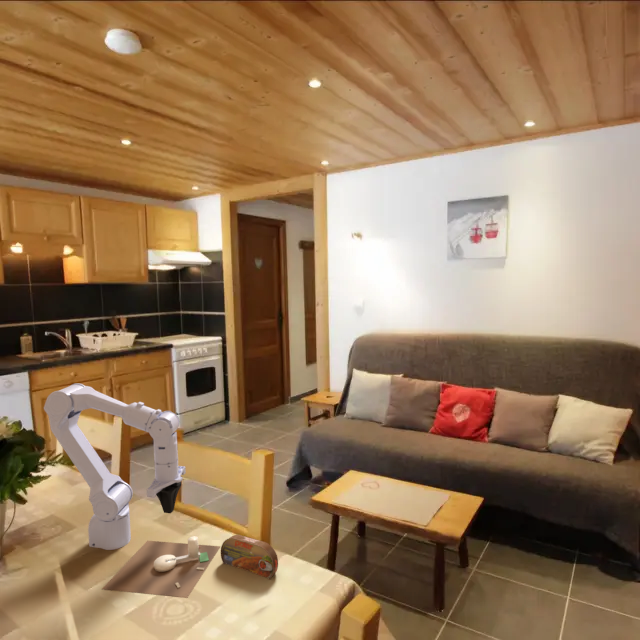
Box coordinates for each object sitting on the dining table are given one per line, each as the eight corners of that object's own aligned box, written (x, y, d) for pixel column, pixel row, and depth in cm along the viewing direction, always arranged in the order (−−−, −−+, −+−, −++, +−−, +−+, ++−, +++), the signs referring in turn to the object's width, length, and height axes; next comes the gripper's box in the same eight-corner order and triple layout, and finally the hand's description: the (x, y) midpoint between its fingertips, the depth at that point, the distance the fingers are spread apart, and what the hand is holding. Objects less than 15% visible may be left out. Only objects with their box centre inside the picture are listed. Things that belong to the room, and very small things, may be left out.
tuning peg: (154, 573, 105) (153, 552, 104) (154, 561, 109) (153, 541, 109) (201, 563, 108) (200, 543, 108) (199, 551, 113) (198, 532, 112)
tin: (220, 569, 109) (219, 535, 108) (228, 562, 112) (227, 529, 111) (273, 588, 102) (272, 551, 101) (280, 579, 105) (279, 544, 104)
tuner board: (101, 595, 100) (101, 588, 100) (147, 546, 119) (147, 539, 119) (187, 604, 97) (187, 596, 97) (220, 552, 116) (220, 545, 115)
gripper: (163, 473, 108) (166, 528, 110) (194, 451, 122) (196, 500, 124) (137, 471, 110) (140, 525, 111) (171, 449, 124) (173, 497, 125)
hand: (168, 511), depth 118 cm, fingers closed
